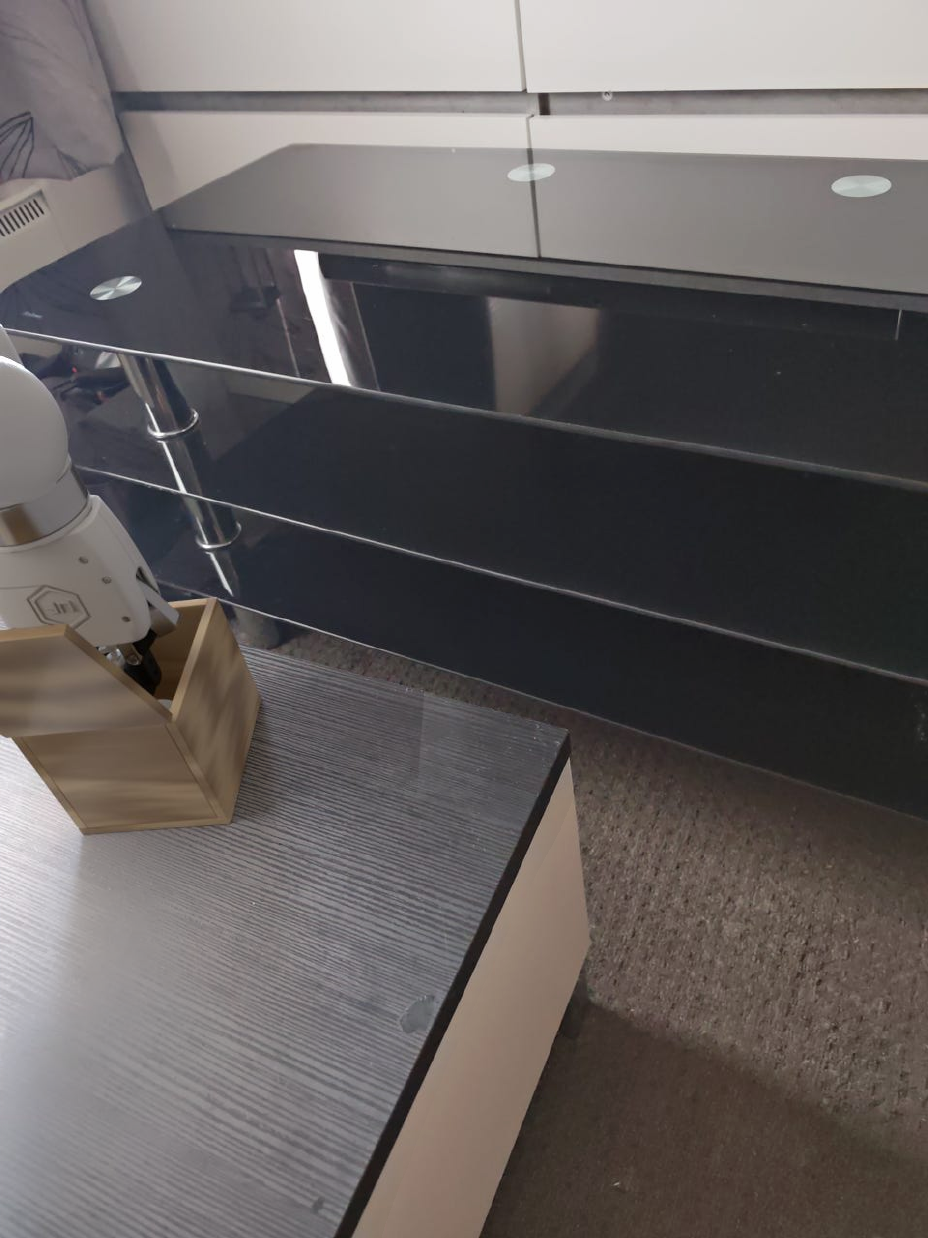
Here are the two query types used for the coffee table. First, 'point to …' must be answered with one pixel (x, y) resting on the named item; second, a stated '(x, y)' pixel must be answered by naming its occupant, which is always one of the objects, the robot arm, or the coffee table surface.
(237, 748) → the box
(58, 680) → the lid
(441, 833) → the coffee table surface
